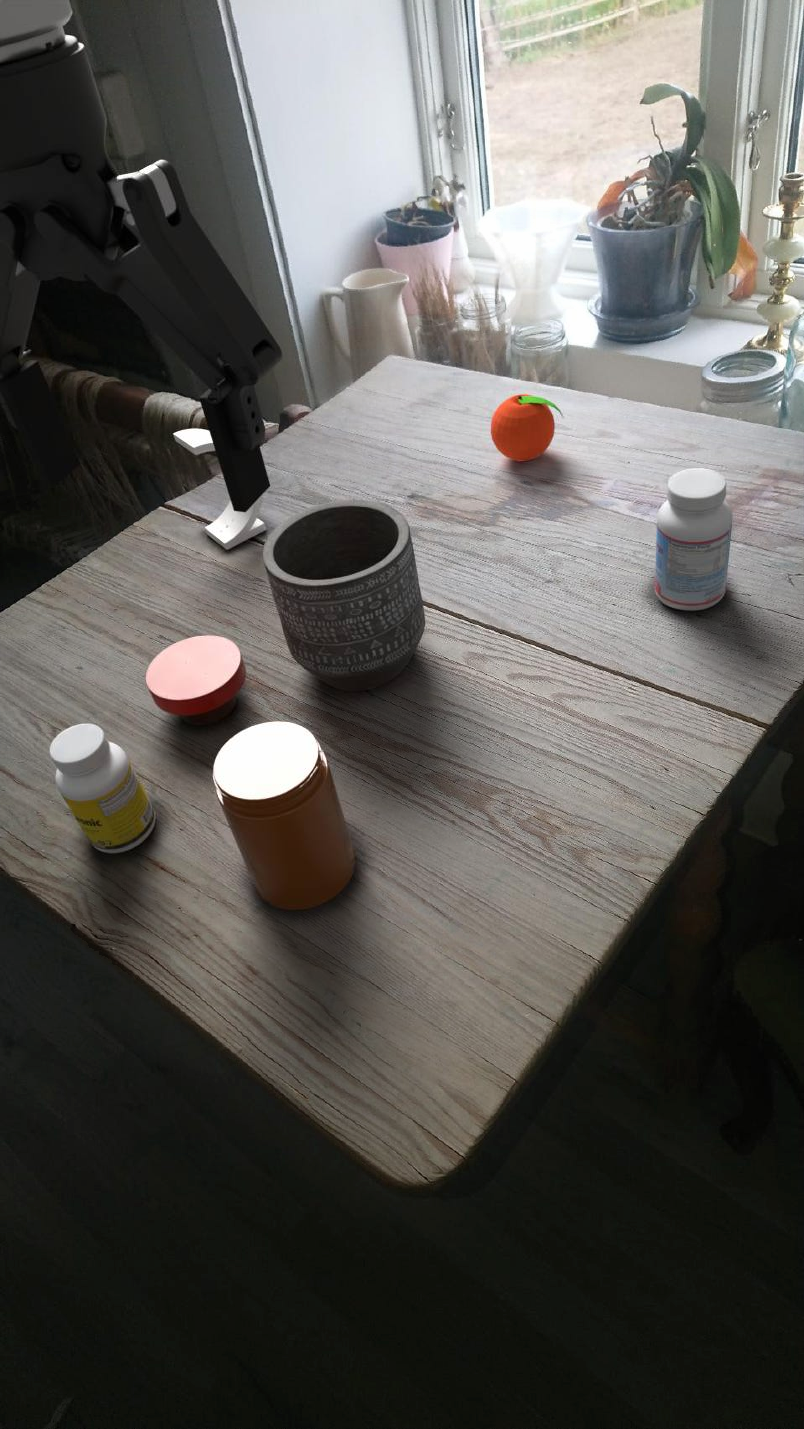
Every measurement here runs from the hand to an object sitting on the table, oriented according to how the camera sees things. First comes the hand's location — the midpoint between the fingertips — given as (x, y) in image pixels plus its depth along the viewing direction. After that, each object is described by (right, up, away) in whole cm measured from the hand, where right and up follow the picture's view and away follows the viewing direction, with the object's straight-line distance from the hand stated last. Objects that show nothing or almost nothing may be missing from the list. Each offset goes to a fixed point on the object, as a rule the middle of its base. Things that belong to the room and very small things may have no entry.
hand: (153, 486), depth 56 cm
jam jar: (+7, -24, +15) cm, 29 cm away
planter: (+11, -8, +31) cm, 34 cm away
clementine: (+28, +15, +52) cm, 61 cm away
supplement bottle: (-7, -22, +21) cm, 31 cm away
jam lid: (-3, -9, +27) cm, 29 cm away
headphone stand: (-3, +7, +50) cm, 51 cm away
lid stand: (-3, -12, +30) cm, 32 cm away
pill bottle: (+40, -2, +31) cm, 51 cm away
